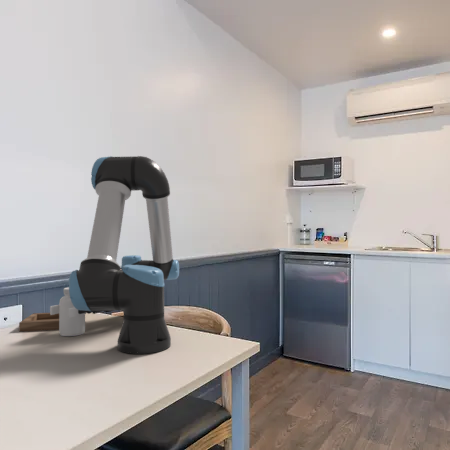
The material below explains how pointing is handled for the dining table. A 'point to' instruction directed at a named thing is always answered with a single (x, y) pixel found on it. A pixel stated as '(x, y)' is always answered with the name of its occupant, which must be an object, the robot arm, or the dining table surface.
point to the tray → (40, 322)
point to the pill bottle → (72, 324)
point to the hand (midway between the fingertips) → (59, 311)
